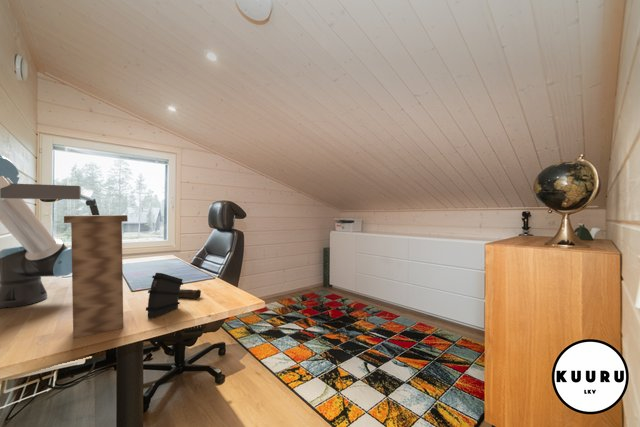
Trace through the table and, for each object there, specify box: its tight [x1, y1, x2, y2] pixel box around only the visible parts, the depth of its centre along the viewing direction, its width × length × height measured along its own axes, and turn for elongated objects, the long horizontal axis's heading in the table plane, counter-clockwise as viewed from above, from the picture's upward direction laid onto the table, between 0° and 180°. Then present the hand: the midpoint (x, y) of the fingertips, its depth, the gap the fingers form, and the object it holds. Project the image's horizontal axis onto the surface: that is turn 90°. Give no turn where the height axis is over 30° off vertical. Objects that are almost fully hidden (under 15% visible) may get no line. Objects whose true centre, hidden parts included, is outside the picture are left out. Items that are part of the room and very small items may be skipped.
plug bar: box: [0, 183, 82, 200], centre depth 78 cm, size 22×4×4 cm, turn 127°
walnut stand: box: [63, 214, 129, 339], centre depth 88 cm, size 15×10×36 cm, turn 127°
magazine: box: [145, 272, 184, 319], centre depth 101 cm, size 4×13×15 cm, turn 162°
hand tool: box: [178, 288, 202, 300], centre depth 119 cm, size 19×4×5 cm, turn 77°
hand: (8, 181), depth 76 cm, fingers closed on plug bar, 4 cm apart
